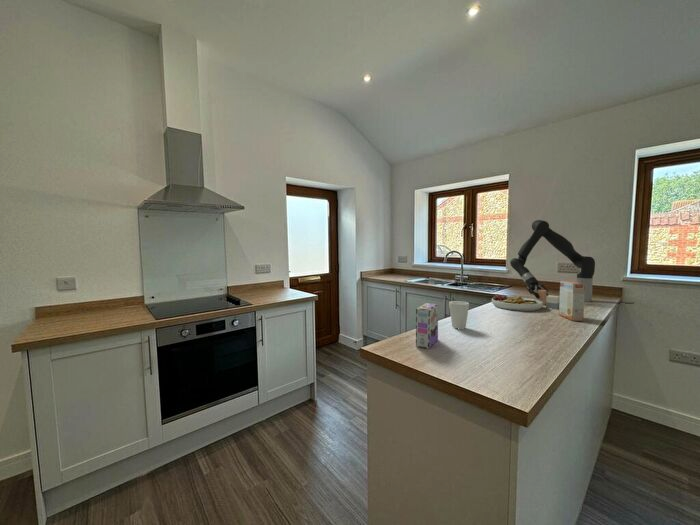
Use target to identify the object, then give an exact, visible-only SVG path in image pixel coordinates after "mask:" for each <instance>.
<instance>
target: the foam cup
mask: <svg viewBox="0 0 700 525" xmlns="http://www.w3.org/2000/svg"><path fill="white" fill-rule="evenodd" d="M448 303H449V304H448V307H449V314H450V319H451V327H454V328H459V329H463V330H465V329H466V328H467V320H468V316H469V308H470V303H469V302H468V301H462V300H452V301H448ZM454 328H453V329H454ZM464 328H465V329H464ZM459 329H458V330H459Z"/></svg>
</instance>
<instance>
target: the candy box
mask: <svg viewBox="0 0 700 525" xmlns="http://www.w3.org/2000/svg"><path fill="white" fill-rule="evenodd" d="M438 340H439V304H438V303H430V302H429V303H427V302H425V303H424V304H422V305H421V306H418V307H417V308H415V347H416V348H417V347H418V348H423V349H426V350H427V349H430V348H432V346H434V344H435V343H437V341H438Z"/></svg>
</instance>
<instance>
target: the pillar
mask: <svg viewBox="0 0 700 525" xmlns="http://www.w3.org/2000/svg"><path fill="white" fill-rule="evenodd" d="M547 290H548V289H547ZM547 290H542V289H541V290H537V292H536V293H537V294H538V295H539V296H540V298H539V299H537V298H536V300H540V301H542V302H543V305H542V306H546V305H545V304H546V296H547V293H548V292H547Z"/></svg>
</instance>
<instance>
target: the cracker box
mask: <svg viewBox="0 0 700 525" xmlns="http://www.w3.org/2000/svg"><path fill="white" fill-rule="evenodd" d="M584 290H585V284H582V283H578V282H577V281H572V280H560V282H559V296H560V301H559V302H560V304H559V309H558V310H559V311H558V315H559V316H560V317H563V318H565V319H567V320H570V321H572V322H584V312H585V310H584V307H585V302H584Z"/></svg>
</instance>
